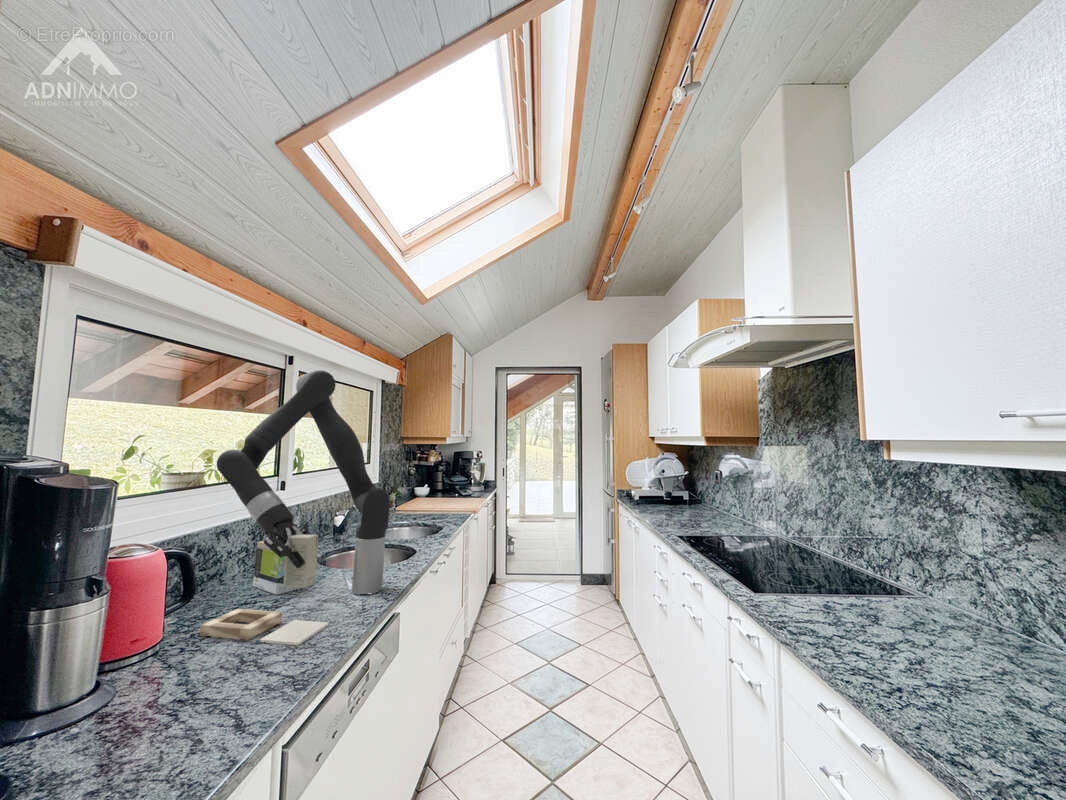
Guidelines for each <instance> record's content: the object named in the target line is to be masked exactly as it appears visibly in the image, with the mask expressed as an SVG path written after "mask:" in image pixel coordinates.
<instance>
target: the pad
mask: <svg viewBox="0 0 1066 800" xmlns="http://www.w3.org/2000/svg"><path fill="white" fill-rule="evenodd" d="M329 625H330V622H324V621H323V622H322V621H312V620H311V621H310V620H299V619H293V620H292V621H290V622H288V623H286V624H284V625H283V626H281V627H279V628H278V629H276V630H274V631H272V632H271V633H268V634H267V635H266V636H263V637H261V638H260V639H259V642H260V643H264V642H265V643H266V644H267V643H268V644H277V645H278V644H279V645H288V646H289V645H290V646H300V645H301V644H302V643H304V642H306V641H307V640H308V639H311V638H312V637H313V636H314V635H316V634H317V633H319V632H321V631H322V630H323V629H325V628H327V627H329ZM326 626H327V627H326Z"/></svg>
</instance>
